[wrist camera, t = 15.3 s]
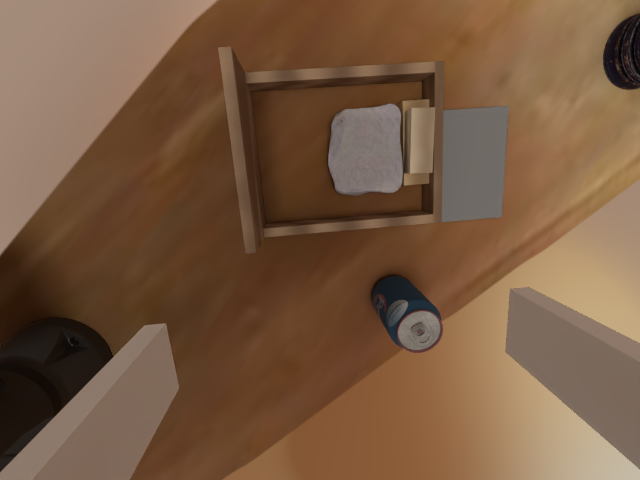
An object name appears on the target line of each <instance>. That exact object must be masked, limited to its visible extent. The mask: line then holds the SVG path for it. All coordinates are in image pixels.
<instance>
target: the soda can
mask: <svg viewBox="0 0 640 480" xmlns="http://www.w3.org/2000/svg"><path fill="white" fill-rule="evenodd" d="M372 303H373V306H374V308H375V310H376V312H377V314H378V315H379V317H380V319H381V321H382V323H383V324H384V326H385V328H386V330H387V331H388V333H389V335H390V337H391V338H392V340H393V341H394V342H395V343H396V344H397V345H398V346H400V347H402V348H404V349H406V350H408V351H410V352H414V353H421V352H425V351H428V350H430V349H432V348H433V347H434V346H435V345H436V344H437V343H438V342H439V340H440V339H441V336H442V333H443V326H442V322H441V316H440V313H439V311H438V310H437V308H436V307H435V306H434V305H433V304H432V303H431V302H430V301H429V300H428V299H427V298H426V297H425V296H424V295H423V294H422V293H421V292H420V291H419V290H418V289H417V288H416V287H415V286H414V285H413V284H412V283H411V282H410V281H409V280H407V279H406V278H403V277H400V276H391V277H387V278H385V279H383V280H381V281H380V282H379V283H378V284H377V285H376V287H375V288H374V291H373V294H372Z"/></svg>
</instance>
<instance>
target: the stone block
mask: <svg viewBox="0 0 640 480" xmlns="http://www.w3.org/2000/svg"><path fill="white" fill-rule="evenodd" d="M400 124H401V112H400V110H399V108H398V107H397V106H396V105H394V104H387V105H382V106H379V107H372V108H358V109H345V110H342V111H341V112H340V113H337V114H336V115H335V117H334V119H333V121H332V124H331V139H330V143H329V154H328V156H329V157H328V166H329V169H330V174H331V176H332V178H333V180H334V186H335V190H336V191H337V192H338V193H340V194H345V195H356V196H358V195H361V194H364V193H369V192H381V193H394V192H395V191H397V190H398V189H399V188H400V187H401V184H402V176H403V167H402V152H401V145H400Z"/></svg>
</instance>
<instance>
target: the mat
mask: <svg viewBox="0 0 640 480" xmlns="http://www.w3.org/2000/svg"><path fill="white" fill-rule="evenodd" d="M507 122H508V106H502V107H487V108H471V109H456V110H444V115H443V174H442V222H449V221H461V220H473V219H484V218H496V217H502V204H503V188H504V171H505V155H506V139H507ZM437 223H438V222H437Z"/></svg>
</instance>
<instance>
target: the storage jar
mask: <svg viewBox="0 0 640 480" xmlns="http://www.w3.org/2000/svg"><path fill="white" fill-rule="evenodd" d="M603 65H604V70H605V73H606V75H607V77H608V79H609V80H610V81H611V83H613V84H614V85H615V86H617V87H619V88H622V89H627V90H629V89H636V88H640V13H639V14H636V15H634V16H632V17H629V18H627V19H626V20H624V21H623V22H621V23H620V24H619V25H618V26H617V27H616V28H615V29H614V31H613V32H612V33H611V35H610V37H609V39H608V41H607V43H606V46H605V50H604V55H603Z"/></svg>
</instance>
